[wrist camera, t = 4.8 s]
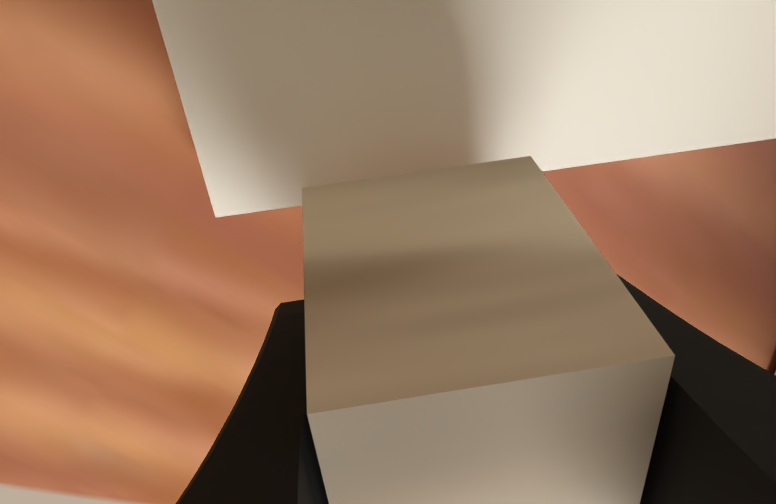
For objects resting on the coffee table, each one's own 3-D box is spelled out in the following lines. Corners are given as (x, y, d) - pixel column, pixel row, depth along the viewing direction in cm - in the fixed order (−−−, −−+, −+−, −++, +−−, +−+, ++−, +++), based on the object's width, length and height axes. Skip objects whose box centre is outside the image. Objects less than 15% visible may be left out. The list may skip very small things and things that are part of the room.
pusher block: (523, 327, 13) (627, 554, 9) (334, 357, 13) (354, 603, 9) (530, 156, 11) (675, 355, 7) (301, 187, 11) (306, 413, 7)
